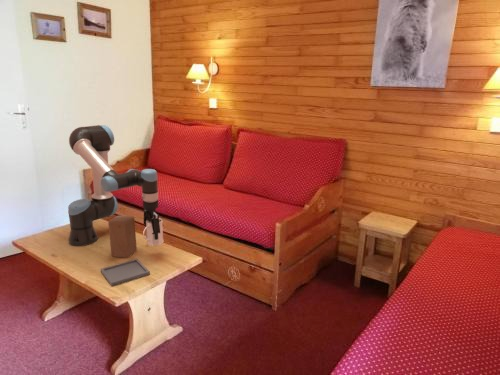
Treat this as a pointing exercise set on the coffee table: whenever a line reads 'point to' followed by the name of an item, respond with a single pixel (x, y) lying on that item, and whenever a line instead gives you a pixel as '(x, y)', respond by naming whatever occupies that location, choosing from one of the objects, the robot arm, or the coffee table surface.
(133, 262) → the tray
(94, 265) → the coffee table surface
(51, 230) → the coffee table surface
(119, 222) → the wooden block
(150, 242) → the mug
